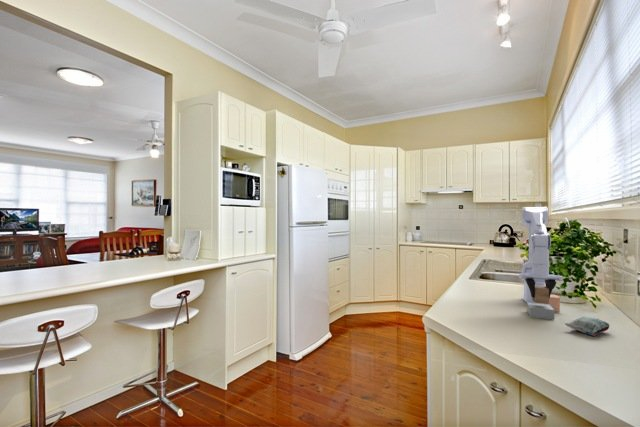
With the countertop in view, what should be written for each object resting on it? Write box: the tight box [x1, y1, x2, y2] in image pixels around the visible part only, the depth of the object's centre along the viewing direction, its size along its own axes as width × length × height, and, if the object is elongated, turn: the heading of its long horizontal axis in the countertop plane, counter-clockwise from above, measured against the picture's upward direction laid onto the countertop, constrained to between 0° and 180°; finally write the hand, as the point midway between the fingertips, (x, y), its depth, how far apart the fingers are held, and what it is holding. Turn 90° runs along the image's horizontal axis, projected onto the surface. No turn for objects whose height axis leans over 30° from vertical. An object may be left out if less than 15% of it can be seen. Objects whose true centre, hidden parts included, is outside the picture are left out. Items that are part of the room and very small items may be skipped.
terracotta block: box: [546, 294, 561, 313], centre depth 138 cm, size 4×4×6 cm
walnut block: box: [532, 285, 549, 304], centre depth 131 cm, size 4×4×6 cm
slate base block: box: [526, 303, 555, 320], centre depth 131 cm, size 8×8×4 cm
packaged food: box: [564, 316, 610, 336], centre depth 113 cm, size 9×12×5 cm
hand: (540, 297), depth 131 cm, fingers closed on walnut block, 4 cm apart
